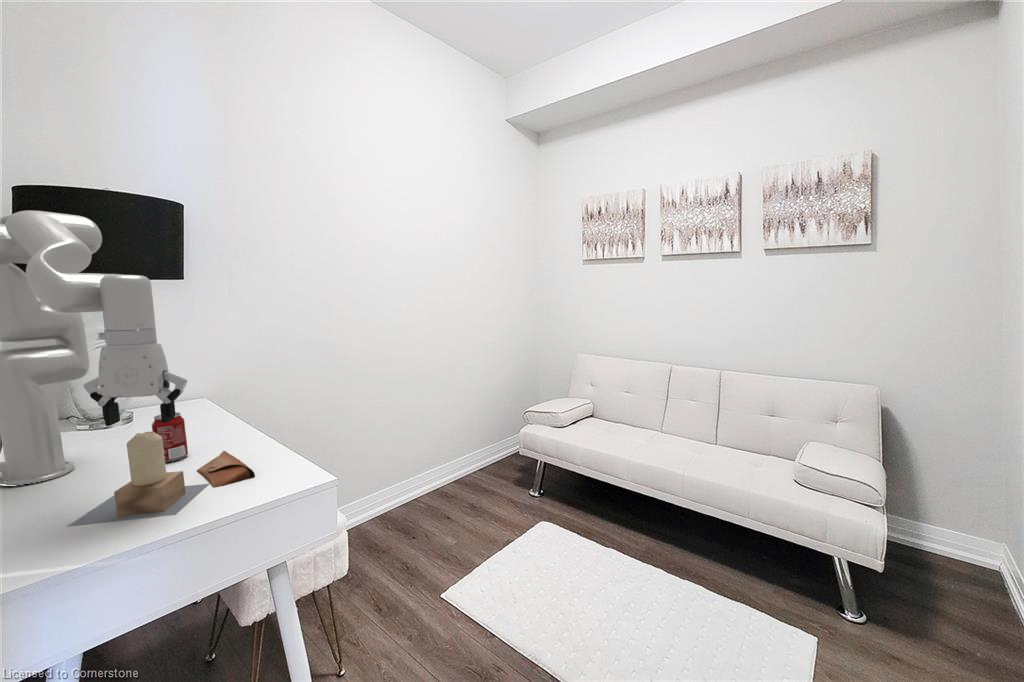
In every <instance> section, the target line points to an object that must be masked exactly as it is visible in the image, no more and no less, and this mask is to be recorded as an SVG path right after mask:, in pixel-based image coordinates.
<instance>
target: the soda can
mask: <svg viewBox="0 0 1024 682" xmlns="http://www.w3.org/2000/svg"><path fill="white" fill-rule="evenodd" d="M153 419H154V420H153V421H152V423H151V430H152V431H153V432H155V433H156V434H158V435H160V436H161V437H162V440H163V449H164V457H165V464H166V463H167V464H169V463H174V462H178V461H181V460H183V459H184V458H185V457H186V456H188V454H189V451H188V450H189V449H188V441H187V433H186V432H187V431H186V424H185V423H186V422H185V418H183V417H182V415H181V412H178V411H175V417H174V419H173V420H171V421H169V422H167V423H162V420H161V414H157V415H155V416H153ZM152 431H151V432H152ZM168 462H169V463H168Z"/></svg>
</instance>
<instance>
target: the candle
mask: <svg viewBox="0 0 1024 682" xmlns="http://www.w3.org/2000/svg"><path fill="white" fill-rule="evenodd" d="M126 449H127V460H128V465H129V473H130V474H129V475H130V481H131V482H132V485H133V486H146V485H151V484H154V483H157V482H160V481H162V480H164V479H165V478H166V473H167V467H166V463H165V457H164V449H163V440H162V437H161V436H160V435H158V434H156V433H155V432H153V431H145V432H142V433H140V432H138V433H136V434H134V436H133V437H132V438H131V439H129V441H127V442H126Z"/></svg>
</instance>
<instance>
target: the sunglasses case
mask: <svg viewBox="0 0 1024 682" xmlns="http://www.w3.org/2000/svg"><path fill="white" fill-rule="evenodd" d="M196 472H197V473H198V474H199V475H200V476H202V477H203V479H205V480H206V481H207V482H208V484H209V485H210V486H211V487H212V488H215V489H216V488H219V487H225V486H228V485H233V484H235V483H240V482H242V481H246V480H250V479H252V478H255V477H256V474H255V472H254V470H253V469H252V468H250V467H249V466H248V465H247V464H246V463H244V462H242V460H240V459H239V458H237V457H236V456H235V455H232V454H230V453H229V452H227V451H226V450H222V451H221V453H220V454H218V456H216V457H214V458H212V459H211V460H210V461H208V462H207V463H206V464H204V465H202V466H200V468H197V469H196Z"/></svg>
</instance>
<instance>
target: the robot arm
mask: <svg viewBox="0 0 1024 682" xmlns="http://www.w3.org/2000/svg"><path fill="white" fill-rule="evenodd" d="M102 243H103V235H102V232H101V230H100V228H99V227H98V225H97V224H96V223H95V222H94V221H93V220H92V219H90V218H88V217H85V216H81V215H77V214H76V215H75V214H70V213H69V214H68V213H60V212H52V211H43V210H21V211H17V212H14V213H12V214H11V215H10V216H8V217H7V218H6V220H5V223H0V343H21V342H22V343H23V342H37V341H47V340H53V341H54V342H55V344H49V345H37V346H25V347H23V346H22V347H14V348H6V349H2V350H0V439H1V444H2V449H3V450H2V451H3V458H4V461H0V473H1V477H0V484H6V485H21V484H29V483H34V484H37V483H36V482H38V483H42V482H41V481H43V482H45V480H46V481H49V479H50V480H53V479H56V478H58V477H61V476H65V475H66V474H68V472H69V473H70V472H72V471H73V470H74V469H75V464H74V462H71V461H65V460H66V459H65V453H64V447H63V441H62V435H61V434H62V433H61V427H60V421H59V414H58V413H59V412H58V408H57V403H56V401H55V399H54V398H53V397H52V396H51V395H50V394H48V393H46V392H44V391H43V390H41V389H40V388H39V387H40V386H47V385H50V384H57V383H65V382H68V381H75V380H79V379H82V378H84V377H85V376H86V375H87V374H88V372H89V369H90V358H89V357H90V356H89V351H88V346H87V345H88V344H87V337H86V330H85V324H84V323H85V322H84V318H83V316H82V314H81V313H94V312H95V313H97V312H102V319H103V326H104V330H103V332H99V333H98V339H99V340H100V341H102V340H103V341H105V344H106V345H104V346H101V348H100V351H99V352H100V353H99V357H98V376H97V377H96V378H93V379H92V380H89V381H88V382H86V383H84V384H83V388H84V389H85V390H86V392H87V394H88V395H89V396H90V398H91V399H92V400H94V401H95V402H96V403H97V406H99V407H101V409H102V417H103V418H102V419H103V421H104V424H105V426H106V427H110V426H112V425H115V424H117V423H120V421H121V416H120V406H119V403H118V402H117V401H116V400H117V399H118V398H142V397H152V396H155V397H157V398H158V399H159V401H161V402H162V403H161V404H160V405H159V407H160V408H159V410H160V415H161V420H162V423H167V422H169V421H171V420H173V419H174V417H175V412H176V405H175V401H176V400H177V399H178V398H179V396H180V395H182V394H183V393H184V390H185V388H186V385H187V383H188V380H187V379H186V378H183V377H180V376H179V375H176V374H173V373H171V372H170V371H169V367H168V362H167V359H166V355H165V352H164V349H163V347H162V344H161V343H158V341H157V340H158V339H157V338H158V337H157V328H156V320H155V319H156V318H155V316H156V315H155V308H154V298H153V297H154V296H153V291H152V290H153V287H152V282H151V280H150V278H148V277H147V276H144V275H139V274H122V273H121V274H118V273H98V272H97V273H95V272H92V273H91V272H89V273H88V272H86V273H85V272H83V271H84V270H85V269H87V267H89V266H90V264H91V262H92V258H93V257H92V255H93V254H95V253H96V252H98V250H99V249H100V248H101V246H102ZM16 264H25V265H26V267H25V271H24V270H23V269H21V268H20V267H19V266H17V265H16ZM82 272H83V273H82ZM171 384H174V385H175V387H174V389H173V390H172V391H171V389H170V388H171V387H170V386H171ZM115 401H116V402H115ZM5 481H6V482H5ZM29 485H30V484H29Z"/></svg>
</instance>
